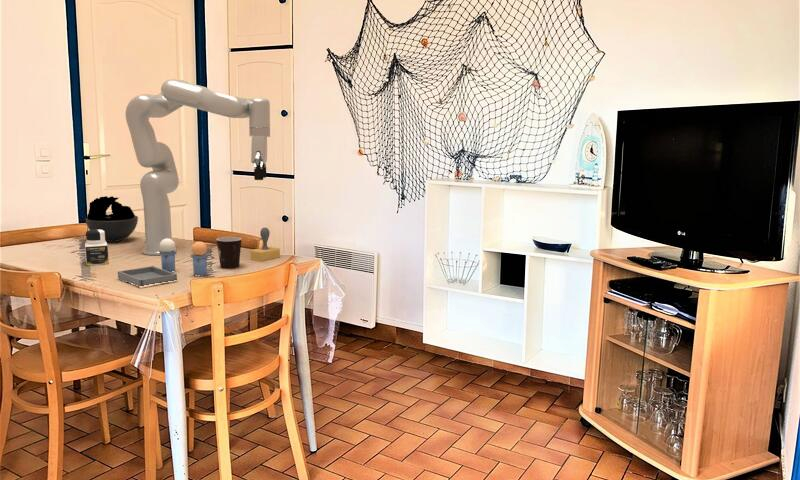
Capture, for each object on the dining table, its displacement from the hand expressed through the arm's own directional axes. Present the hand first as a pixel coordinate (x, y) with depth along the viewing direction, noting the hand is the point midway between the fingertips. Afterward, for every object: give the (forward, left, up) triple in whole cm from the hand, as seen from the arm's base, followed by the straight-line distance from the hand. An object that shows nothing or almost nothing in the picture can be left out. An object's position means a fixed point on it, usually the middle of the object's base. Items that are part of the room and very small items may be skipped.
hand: (260, 178), depth 241 cm
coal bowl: (-67, -27, -30) cm, 79 cm away
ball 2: (+11, -32, -21) cm, 40 cm away
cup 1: (-1, -37, -30) cm, 48 cm away
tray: (+6, -48, -30) cm, 57 cm away
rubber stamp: (+4, -1, -30) cm, 30 cm away
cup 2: (+11, -32, -30) cm, 45 cm away
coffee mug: (+8, -19, -30) cm, 37 cm away
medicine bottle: (-30, -49, -30) cm, 65 cm away
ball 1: (-1, -37, -21) cm, 43 cm away
